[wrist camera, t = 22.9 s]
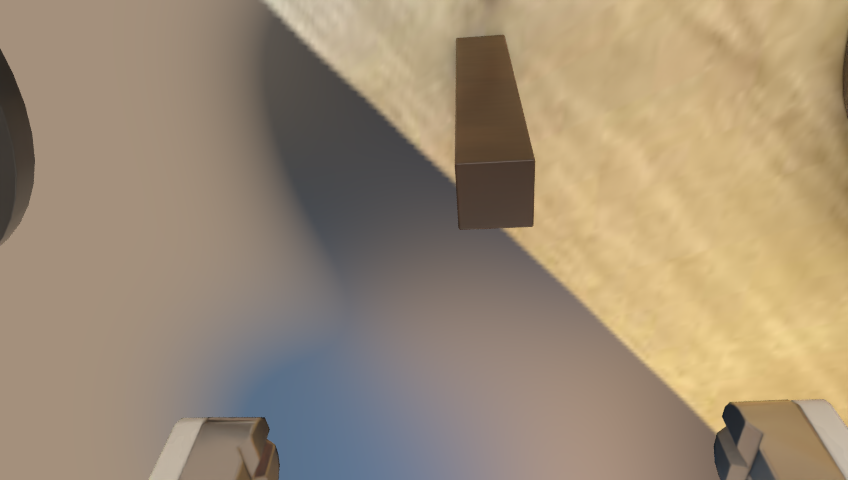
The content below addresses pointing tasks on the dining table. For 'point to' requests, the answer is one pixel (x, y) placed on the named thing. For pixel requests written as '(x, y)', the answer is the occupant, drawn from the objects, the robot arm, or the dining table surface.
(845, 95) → the bowl
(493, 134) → the stick
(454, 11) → the dining table surface
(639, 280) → the dining table surface
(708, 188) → the dining table surface
